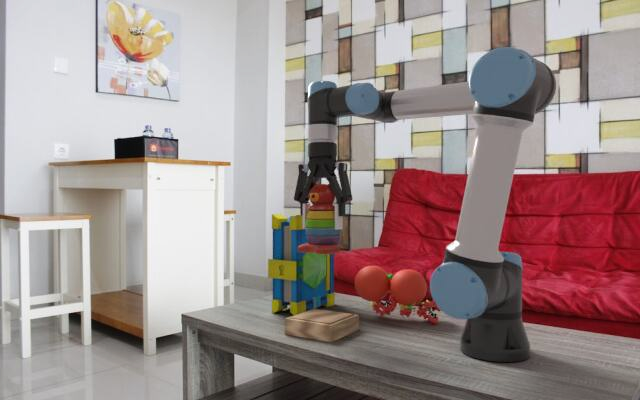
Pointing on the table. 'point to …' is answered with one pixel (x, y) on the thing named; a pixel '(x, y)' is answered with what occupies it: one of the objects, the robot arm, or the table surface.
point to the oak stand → (322, 325)
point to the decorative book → (298, 269)
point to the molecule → (395, 291)
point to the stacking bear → (321, 222)
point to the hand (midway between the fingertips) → (322, 228)
